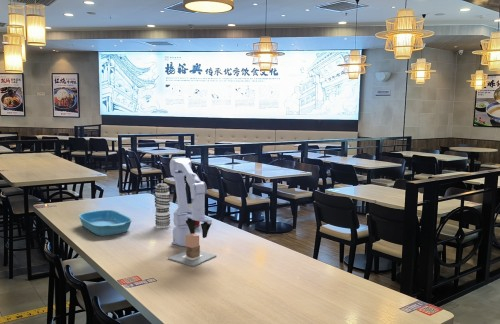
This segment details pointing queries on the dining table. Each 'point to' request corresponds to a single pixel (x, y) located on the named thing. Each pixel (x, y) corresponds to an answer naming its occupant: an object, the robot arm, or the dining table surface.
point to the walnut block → (193, 251)
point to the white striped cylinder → (162, 206)
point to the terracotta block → (192, 240)
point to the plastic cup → (196, 221)
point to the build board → (192, 261)
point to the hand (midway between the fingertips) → (198, 235)
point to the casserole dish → (105, 222)
